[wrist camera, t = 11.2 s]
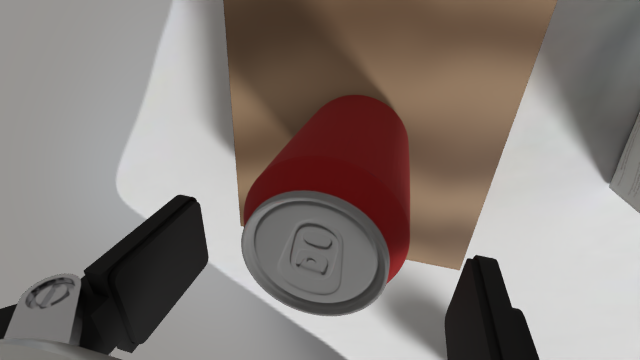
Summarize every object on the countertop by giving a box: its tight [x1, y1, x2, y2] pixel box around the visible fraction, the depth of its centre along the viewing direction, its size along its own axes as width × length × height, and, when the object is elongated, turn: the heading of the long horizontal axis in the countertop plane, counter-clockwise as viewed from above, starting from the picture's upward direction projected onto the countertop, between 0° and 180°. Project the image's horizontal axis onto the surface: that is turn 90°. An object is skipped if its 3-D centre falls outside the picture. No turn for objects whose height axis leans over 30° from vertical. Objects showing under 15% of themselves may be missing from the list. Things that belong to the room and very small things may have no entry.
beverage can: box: [241, 95, 410, 316], centre depth 16 cm, size 7×7×12 cm
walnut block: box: [223, 0, 557, 270], centre depth 25 cm, size 18×18×7 cm
